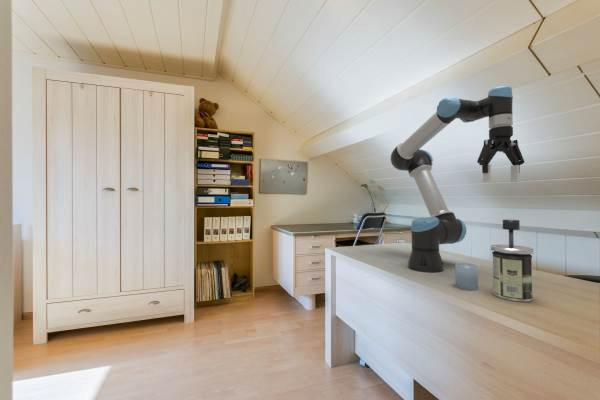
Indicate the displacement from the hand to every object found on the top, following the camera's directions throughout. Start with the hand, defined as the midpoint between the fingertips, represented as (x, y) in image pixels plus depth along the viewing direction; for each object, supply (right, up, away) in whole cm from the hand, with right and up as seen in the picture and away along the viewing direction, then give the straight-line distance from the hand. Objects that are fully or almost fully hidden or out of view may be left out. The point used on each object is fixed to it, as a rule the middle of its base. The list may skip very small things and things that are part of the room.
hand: (501, 181), depth 104 cm
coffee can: (-9, -39, -16) cm, 43 cm away
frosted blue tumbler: (-18, -39, -7) cm, 44 cm away
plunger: (-9, -24, -16) cm, 31 cm away
